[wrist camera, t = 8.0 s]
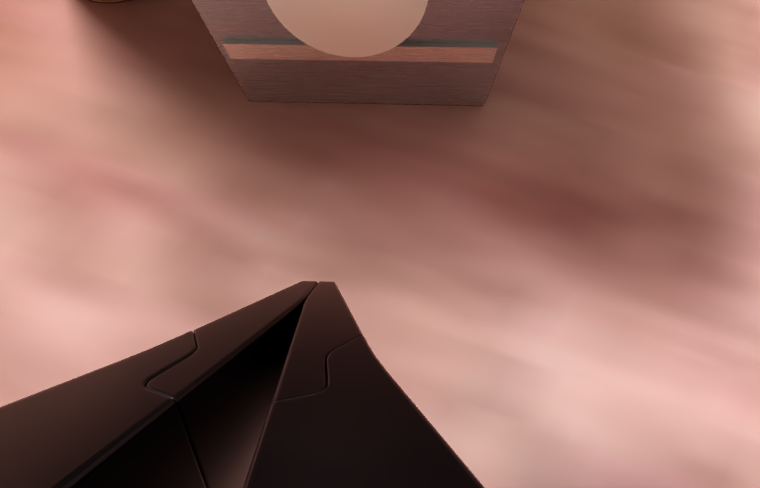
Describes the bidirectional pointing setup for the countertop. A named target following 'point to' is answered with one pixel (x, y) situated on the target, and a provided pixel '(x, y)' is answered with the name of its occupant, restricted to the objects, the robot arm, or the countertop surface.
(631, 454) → the countertop surface
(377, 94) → the mount
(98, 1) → the plant pot
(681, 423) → the countertop surface
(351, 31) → the knob
